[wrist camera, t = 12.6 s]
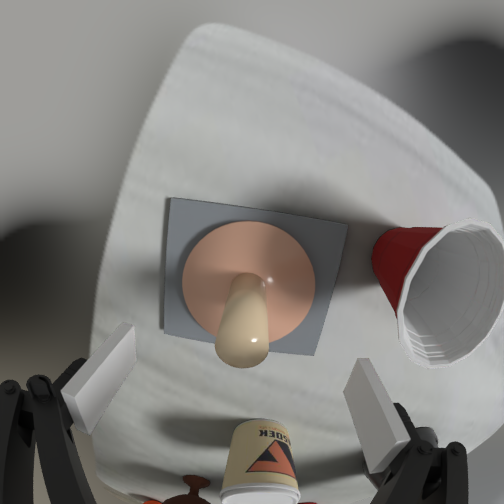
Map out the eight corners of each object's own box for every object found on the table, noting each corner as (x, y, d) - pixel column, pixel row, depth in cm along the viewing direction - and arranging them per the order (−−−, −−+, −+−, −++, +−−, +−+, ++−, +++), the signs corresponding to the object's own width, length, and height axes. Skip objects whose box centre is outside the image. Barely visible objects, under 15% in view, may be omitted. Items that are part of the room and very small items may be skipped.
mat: (345, 224, 24) (348, 225, 23) (312, 351, 28) (313, 355, 27) (173, 197, 24) (171, 198, 23) (166, 329, 28) (163, 333, 27)
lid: (325, 231, 24) (366, 266, 14) (297, 346, 27) (312, 417, 17) (190, 211, 23) (145, 233, 14) (182, 329, 26) (150, 394, 17)
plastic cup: (393, 177, 23) (477, 182, 11) (448, 247, 24) (522, 284, 13) (322, 261, 25) (367, 325, 13) (388, 321, 27) (440, 389, 15)
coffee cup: (307, 430, 31) (317, 499, 20) (263, 455, 33) (263, 517, 22) (256, 405, 30) (254, 484, 18) (214, 434, 32) (203, 502, 21)
